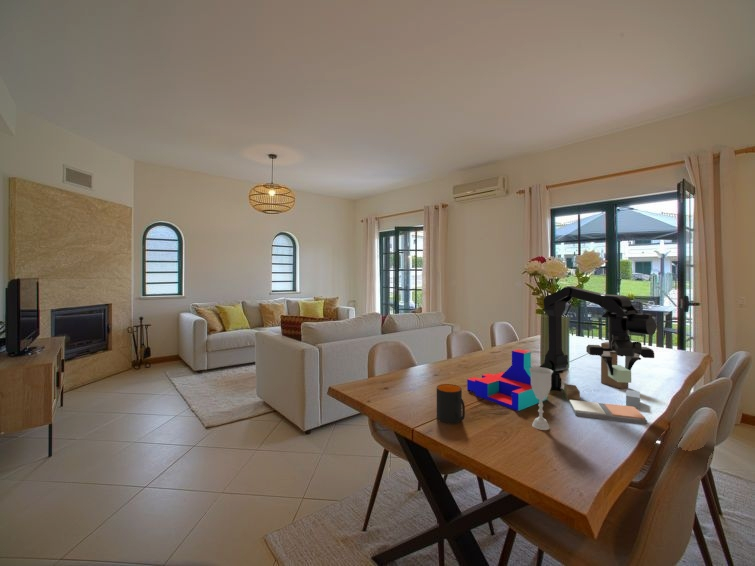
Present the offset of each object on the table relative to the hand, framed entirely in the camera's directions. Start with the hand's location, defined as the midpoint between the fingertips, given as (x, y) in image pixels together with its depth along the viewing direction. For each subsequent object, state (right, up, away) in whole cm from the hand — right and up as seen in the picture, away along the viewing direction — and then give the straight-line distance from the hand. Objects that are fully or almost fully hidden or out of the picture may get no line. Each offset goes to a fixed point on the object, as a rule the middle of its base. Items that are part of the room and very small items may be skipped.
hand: (619, 375), depth 117 cm
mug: (-60, -13, -6) cm, 62 cm away
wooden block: (+18, -12, +27) cm, 35 cm away
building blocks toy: (-34, -13, +17) cm, 40 cm away
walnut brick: (-9, -13, +14) cm, 21 cm away
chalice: (-33, -13, -11) cm, 37 cm away
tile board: (-6, -13, -1) cm, 14 cm away
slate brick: (+10, -13, +7) cm, 18 cm away
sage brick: (0, -1, 0) cm, 1 cm away
